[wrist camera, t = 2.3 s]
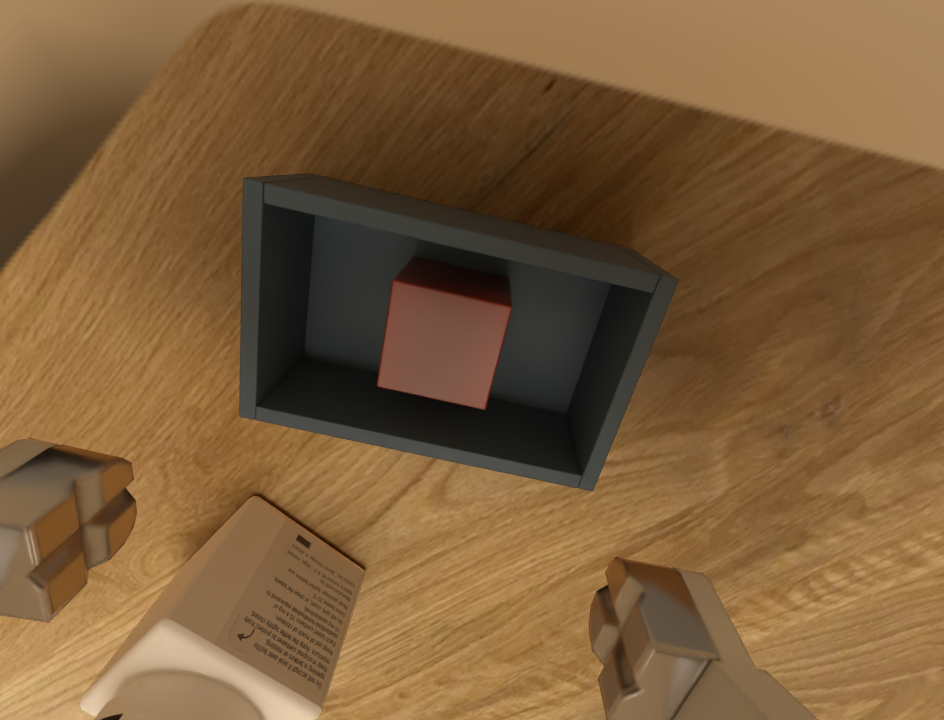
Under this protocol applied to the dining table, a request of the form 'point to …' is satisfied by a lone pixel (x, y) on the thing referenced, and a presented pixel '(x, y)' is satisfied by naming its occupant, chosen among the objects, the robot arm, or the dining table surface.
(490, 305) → the block
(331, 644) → the container
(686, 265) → the dining table surface
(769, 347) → the dining table surface
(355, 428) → the box
